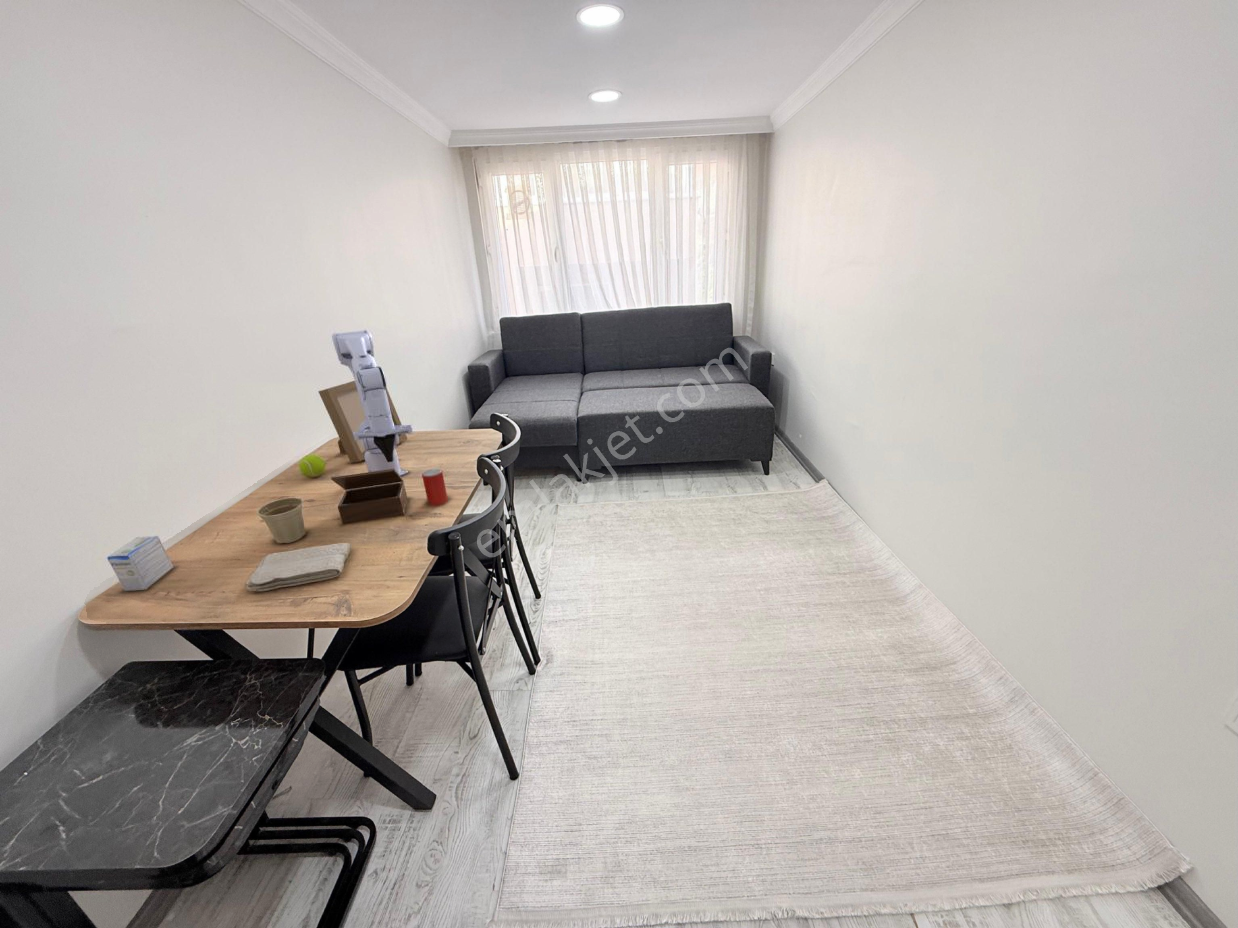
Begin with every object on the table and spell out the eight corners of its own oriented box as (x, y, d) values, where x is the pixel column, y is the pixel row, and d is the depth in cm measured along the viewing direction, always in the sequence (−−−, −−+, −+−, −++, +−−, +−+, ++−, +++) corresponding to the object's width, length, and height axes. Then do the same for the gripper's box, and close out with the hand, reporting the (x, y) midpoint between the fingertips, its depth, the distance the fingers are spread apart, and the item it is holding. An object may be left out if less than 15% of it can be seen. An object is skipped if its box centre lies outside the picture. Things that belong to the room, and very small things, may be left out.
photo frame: (408, 441, 181) (392, 374, 171) (360, 464, 162) (340, 390, 152) (377, 437, 186) (360, 372, 176) (327, 459, 167) (306, 387, 157)
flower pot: (322, 530, 123) (312, 499, 120) (288, 550, 115) (276, 518, 112) (294, 525, 126) (284, 495, 123) (259, 544, 118) (247, 513, 115)
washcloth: (266, 563, 110) (261, 552, 109) (353, 548, 115) (350, 537, 114) (245, 596, 100) (240, 583, 99) (342, 577, 104) (339, 565, 103)
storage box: (404, 515, 129) (399, 497, 127) (343, 524, 125) (337, 506, 123) (407, 499, 137) (403, 481, 135) (350, 507, 134) (345, 490, 132)
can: (423, 503, 135) (417, 474, 131) (438, 495, 139) (432, 467, 135) (437, 507, 132) (431, 477, 129) (451, 498, 136) (446, 470, 133)
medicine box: (153, 569, 110) (136, 536, 107) (174, 567, 110) (158, 534, 107) (124, 591, 103) (105, 557, 99) (146, 590, 103) (128, 555, 100)
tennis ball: (313, 482, 151) (307, 461, 148) (297, 479, 153) (290, 458, 150) (333, 472, 156) (327, 452, 154) (317, 470, 159) (310, 450, 156)
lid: (394, 470, 125) (394, 468, 125) (331, 479, 122) (331, 477, 122) (403, 481, 135) (403, 479, 135) (345, 490, 132) (345, 488, 132)
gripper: (346, 421, 126) (359, 470, 131) (406, 414, 129) (417, 462, 134) (351, 413, 132) (364, 460, 137) (409, 407, 135) (419, 453, 141)
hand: (390, 460), depth 136 cm, fingers closed
